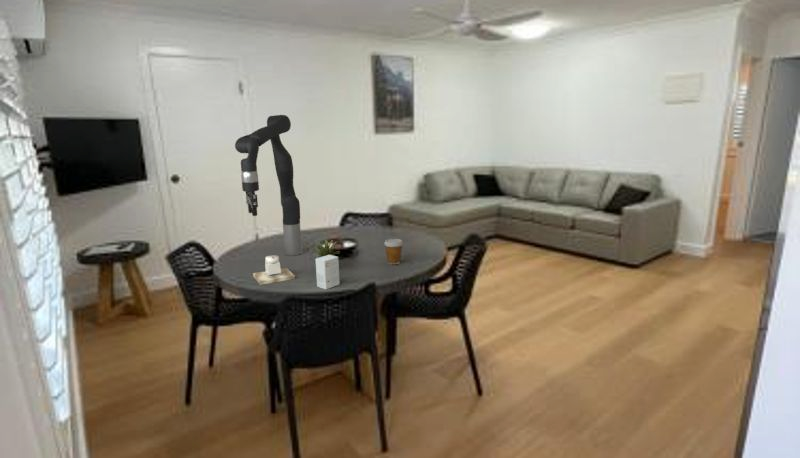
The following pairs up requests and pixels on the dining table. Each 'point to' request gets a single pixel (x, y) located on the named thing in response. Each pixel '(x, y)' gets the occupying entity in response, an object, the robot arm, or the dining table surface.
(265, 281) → the dial board
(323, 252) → the house plant
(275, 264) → the knob
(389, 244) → the disposable coffee cup
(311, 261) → the dining table surface
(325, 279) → the small box
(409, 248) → the dining table surface
